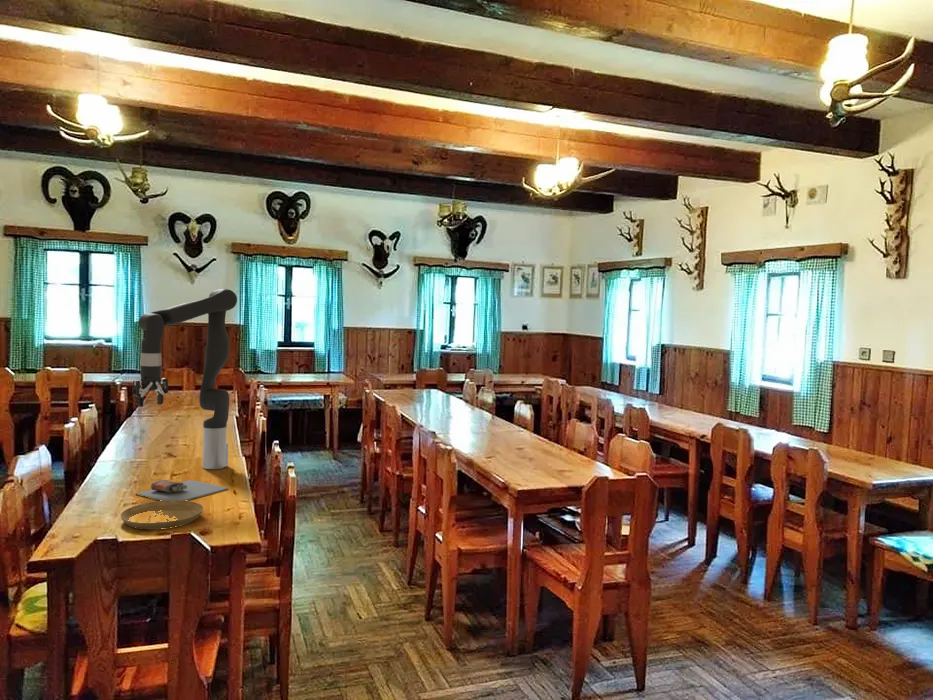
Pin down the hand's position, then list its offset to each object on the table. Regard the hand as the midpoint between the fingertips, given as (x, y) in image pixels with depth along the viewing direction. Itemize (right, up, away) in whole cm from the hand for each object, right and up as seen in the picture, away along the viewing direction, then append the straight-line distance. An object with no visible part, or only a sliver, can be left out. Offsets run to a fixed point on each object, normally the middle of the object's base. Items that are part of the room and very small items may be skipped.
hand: (150, 405), depth 270 cm
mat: (+21, -30, -19) cm, 41 cm away
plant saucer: (+27, -33, -51) cm, 66 cm away
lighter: (+12, -28, -19) cm, 35 cm away
